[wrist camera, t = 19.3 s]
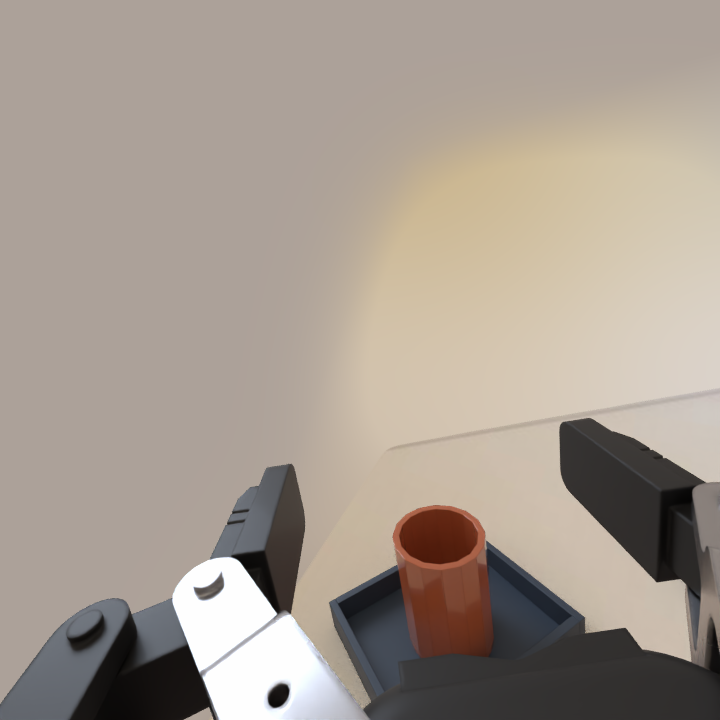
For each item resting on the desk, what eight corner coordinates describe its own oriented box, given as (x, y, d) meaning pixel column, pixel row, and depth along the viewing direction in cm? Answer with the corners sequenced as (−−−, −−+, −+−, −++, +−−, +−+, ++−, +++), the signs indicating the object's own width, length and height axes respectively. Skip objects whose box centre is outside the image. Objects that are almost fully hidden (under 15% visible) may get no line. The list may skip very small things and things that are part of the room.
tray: (414, 790, 22) (408, 758, 21) (334, 626, 33) (328, 602, 32) (585, 645, 28) (585, 617, 27) (470, 547, 39) (467, 525, 38)
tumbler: (443, 693, 26) (427, 586, 24) (393, 619, 32) (377, 528, 29) (513, 641, 28) (505, 540, 26) (455, 581, 34) (445, 495, 32)
